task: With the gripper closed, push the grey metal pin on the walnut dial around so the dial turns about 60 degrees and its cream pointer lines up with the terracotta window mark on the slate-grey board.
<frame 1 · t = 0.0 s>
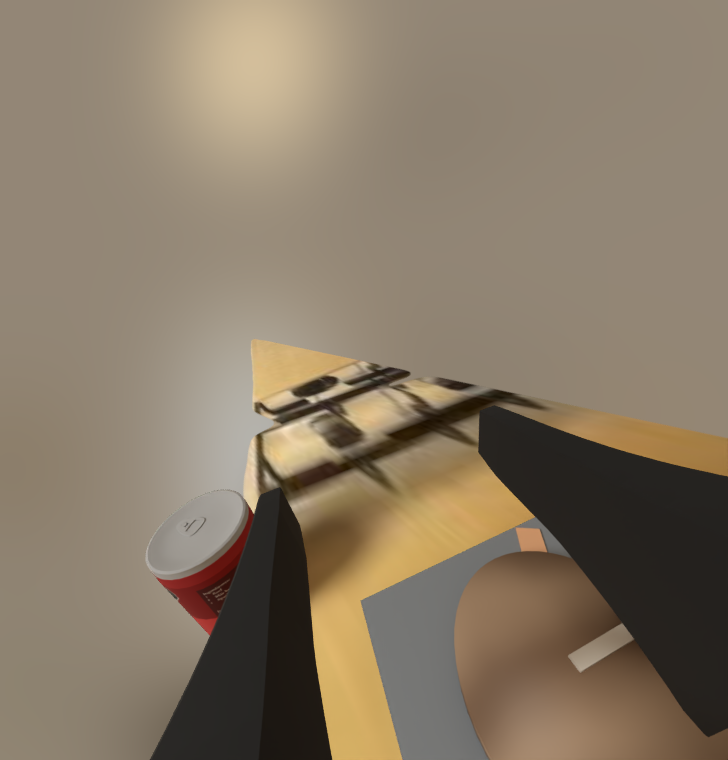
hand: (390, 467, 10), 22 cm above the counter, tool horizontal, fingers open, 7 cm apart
board: (568, 686, 19), on the counter
canned food: (249, 599, 28), on the counter
dial: (576, 656, 17), point 4 cm above the counter, hinge at 0.0°
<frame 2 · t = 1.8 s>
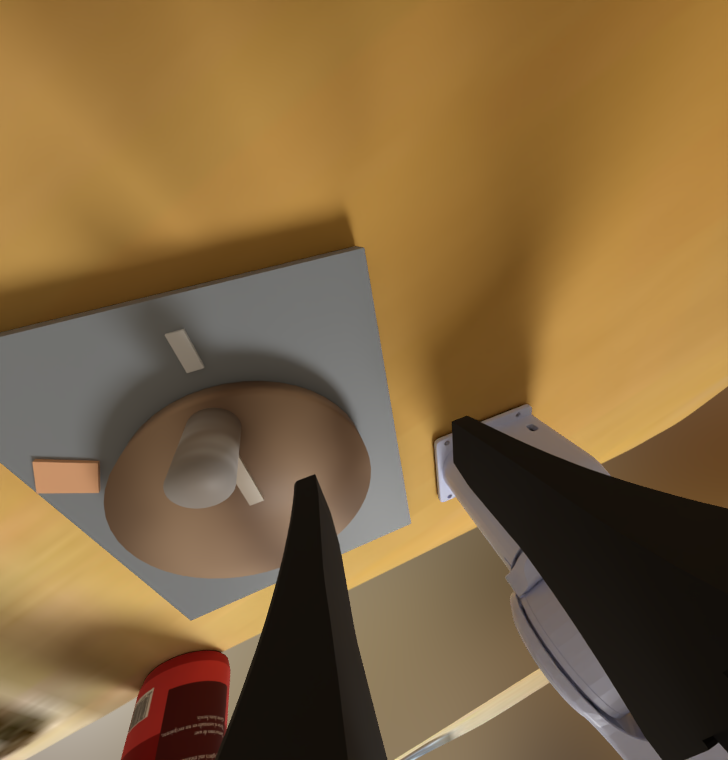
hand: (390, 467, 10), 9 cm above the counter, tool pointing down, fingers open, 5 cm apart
board: (257, 461, 19), on the counter
canned food: (188, 669, 28), on the counter
dial: (256, 515, 16), point 4 cm above the counter, hinge at 0.0°
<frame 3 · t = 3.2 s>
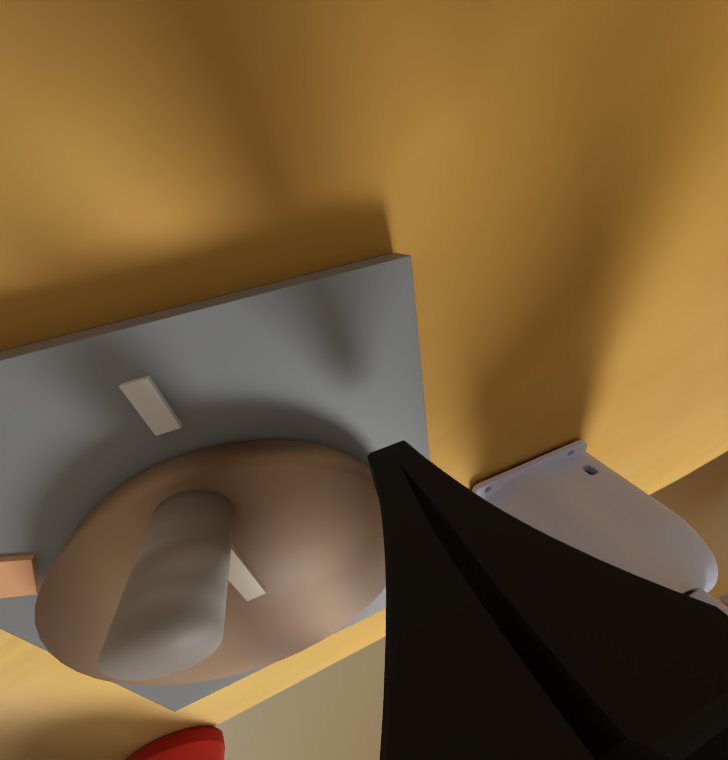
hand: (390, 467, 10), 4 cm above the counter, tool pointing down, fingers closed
board: (257, 525, 15), on the counter
canned food: (176, 746, 24), on the counter
dial: (256, 620, 11), point 4 cm above the counter, hinge at 0.0°
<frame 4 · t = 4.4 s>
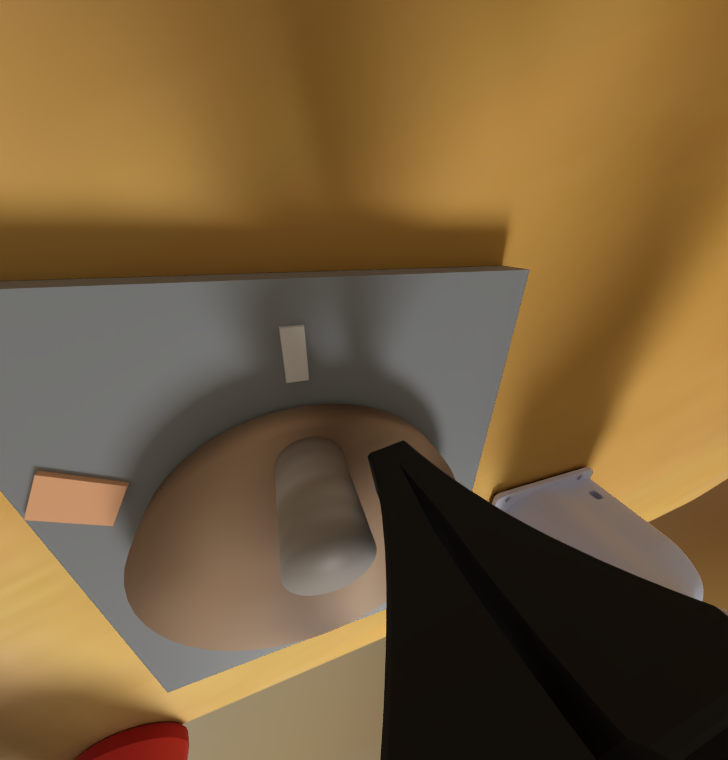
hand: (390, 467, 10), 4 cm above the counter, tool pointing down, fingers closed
board: (309, 498, 15), on the counter
canned food: (134, 744, 22), on the counter
dial: (324, 581, 12), point 4 cm above the counter, hinge at 0.0°, touching gripper
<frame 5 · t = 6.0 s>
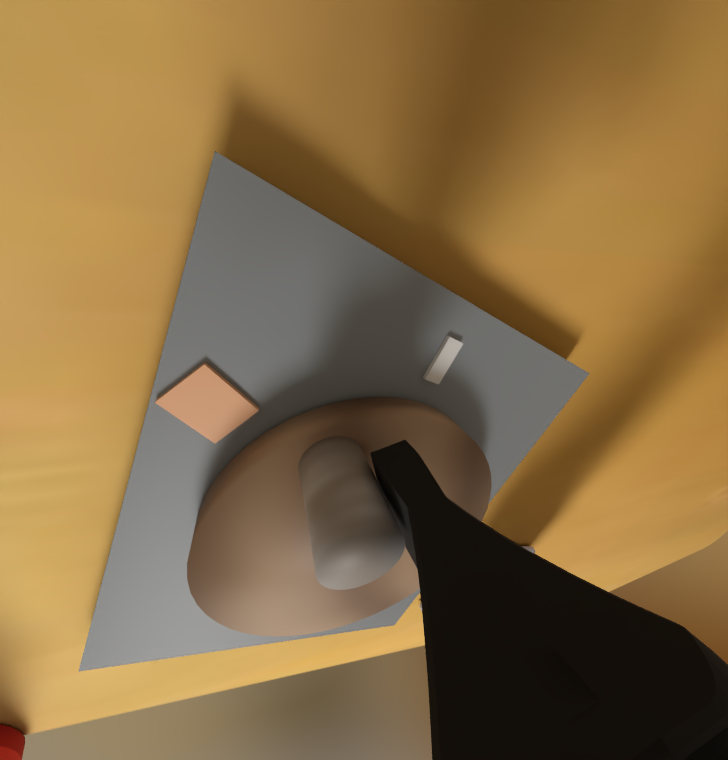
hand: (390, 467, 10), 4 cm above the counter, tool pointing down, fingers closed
board: (344, 489, 16), on the counter
dial: (369, 567, 12), point 4 cm above the counter, hinge at 39.1°, touching gripper
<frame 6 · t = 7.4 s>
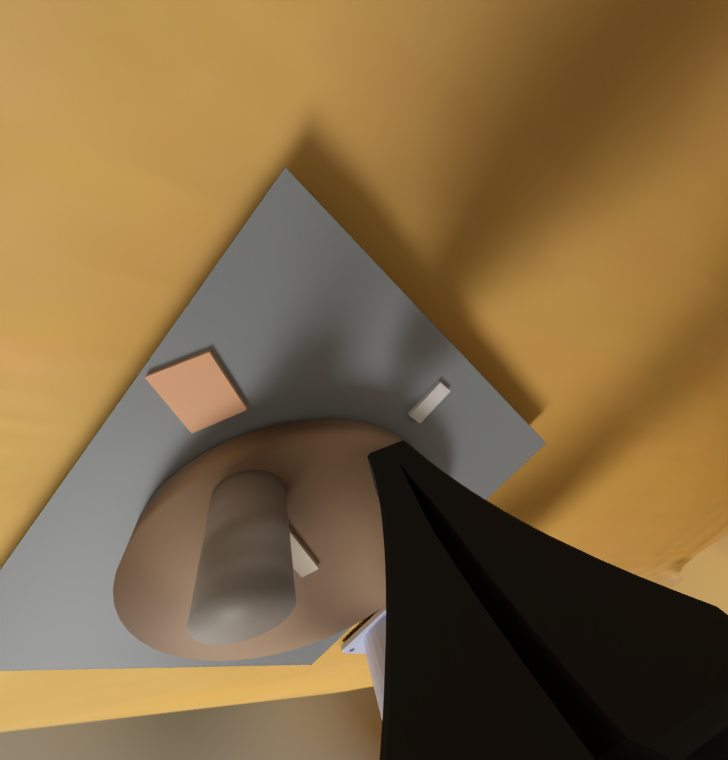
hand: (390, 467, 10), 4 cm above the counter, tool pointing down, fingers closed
board: (300, 508, 16), on the counter
dial: (313, 594, 12), point 4 cm above the counter, hinge at 60.1°
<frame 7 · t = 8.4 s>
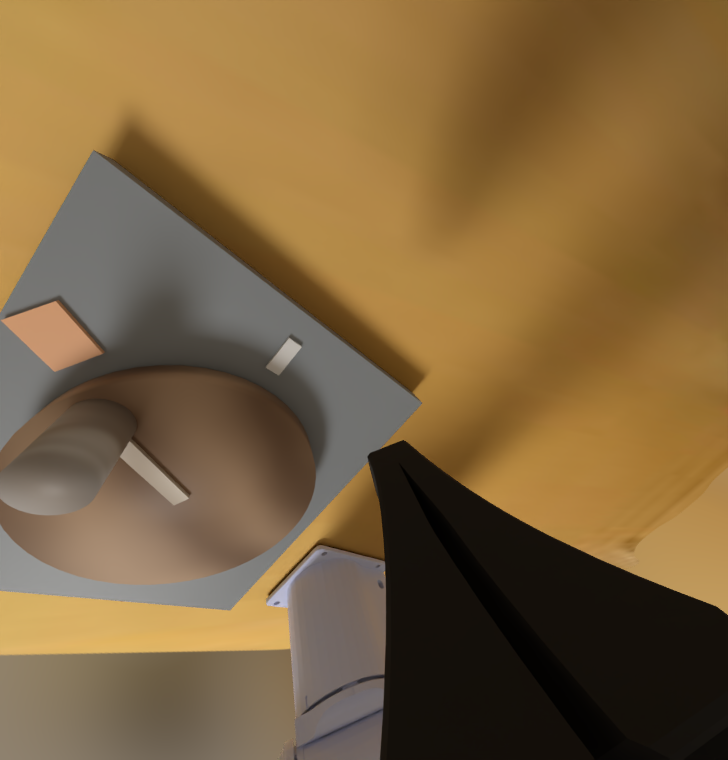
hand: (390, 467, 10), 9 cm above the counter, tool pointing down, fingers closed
board: (194, 456, 18), on the counter
dial: (177, 515, 14), point 4 cm above the counter, hinge at 60.1°
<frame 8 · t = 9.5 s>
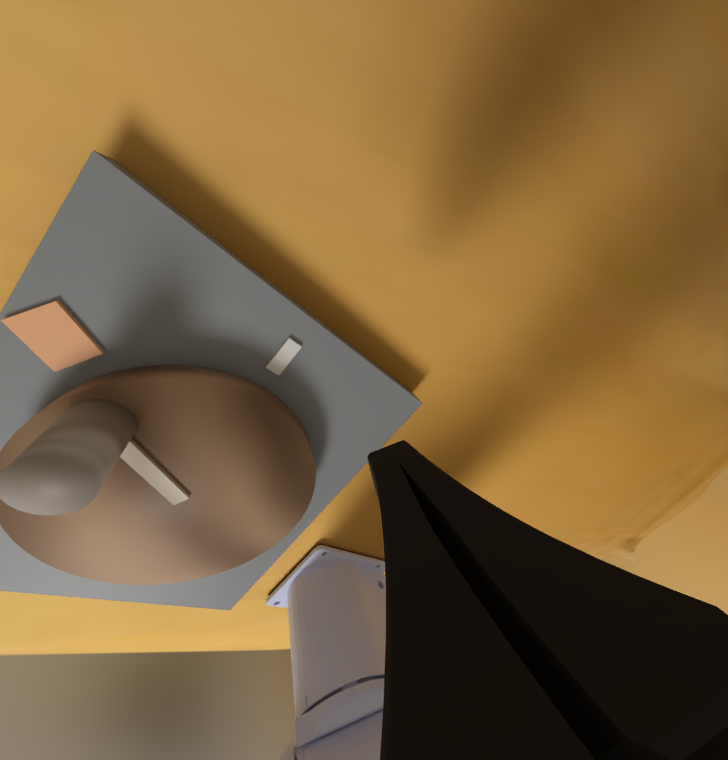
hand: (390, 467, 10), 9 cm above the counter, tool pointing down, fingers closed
board: (194, 456, 18), on the counter
dial: (177, 515, 14), point 4 cm above the counter, hinge at 60.1°
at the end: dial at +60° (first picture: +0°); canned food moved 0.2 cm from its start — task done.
